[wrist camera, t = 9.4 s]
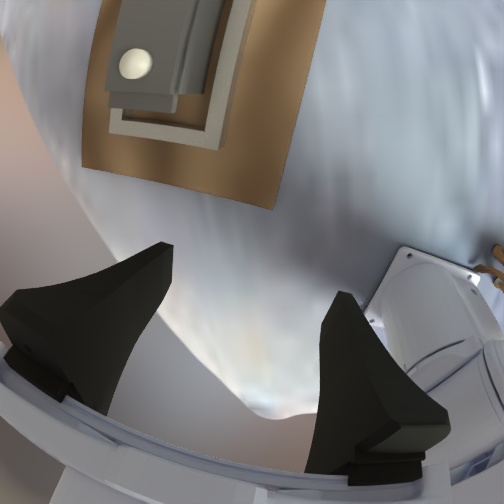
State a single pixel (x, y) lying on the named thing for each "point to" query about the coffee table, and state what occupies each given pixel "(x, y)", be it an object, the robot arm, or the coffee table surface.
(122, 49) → the servo block
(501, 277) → the lion figurine
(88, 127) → the pocket plate
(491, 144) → the coffee table surface
